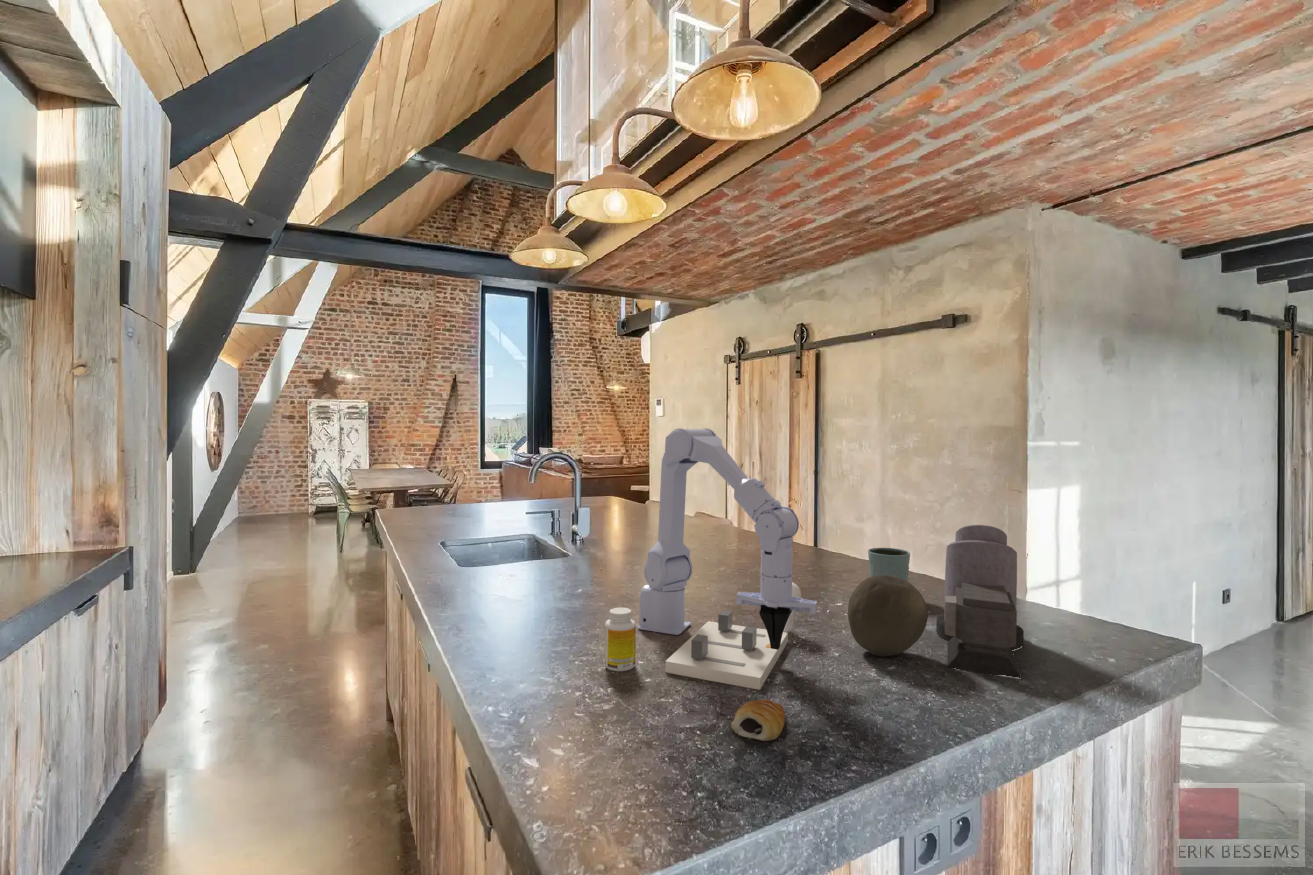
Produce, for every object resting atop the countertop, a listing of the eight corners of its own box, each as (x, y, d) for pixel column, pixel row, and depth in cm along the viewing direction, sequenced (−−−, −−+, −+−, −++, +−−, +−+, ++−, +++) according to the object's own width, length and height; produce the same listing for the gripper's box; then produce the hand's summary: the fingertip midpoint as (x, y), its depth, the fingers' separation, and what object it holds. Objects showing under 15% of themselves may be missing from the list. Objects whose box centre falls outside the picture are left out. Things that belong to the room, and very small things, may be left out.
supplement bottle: (640, 669, 107) (640, 612, 107) (611, 674, 104) (611, 616, 104) (628, 658, 112) (628, 604, 112) (600, 663, 109) (600, 608, 109)
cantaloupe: (889, 673, 106) (890, 589, 106) (831, 647, 118) (833, 572, 118) (942, 660, 112) (943, 581, 112) (882, 636, 125) (883, 565, 125)
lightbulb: (801, 638, 123) (801, 585, 123) (771, 635, 125) (771, 583, 124) (800, 628, 129) (800, 578, 129) (771, 626, 131) (772, 576, 130)
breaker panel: (665, 672, 106) (665, 660, 106) (708, 630, 128) (708, 620, 128) (759, 689, 99) (760, 677, 99) (787, 642, 121) (787, 632, 121)
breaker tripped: (741, 648, 111) (741, 631, 111) (746, 643, 114) (746, 626, 114) (752, 650, 110) (752, 633, 110) (756, 644, 113) (756, 627, 113)
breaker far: (718, 630, 121) (718, 614, 121) (722, 625, 124) (722, 609, 124) (727, 631, 120) (727, 615, 120) (732, 626, 123) (732, 611, 123)
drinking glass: (915, 603, 149) (916, 555, 149) (875, 602, 149) (876, 554, 149) (899, 592, 159) (900, 547, 159) (862, 591, 160) (862, 546, 159)
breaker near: (691, 657, 106) (691, 639, 106) (697, 651, 109) (697, 634, 109) (702, 659, 105) (702, 641, 105) (707, 653, 108) (707, 635, 108)
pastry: (753, 708, 93) (753, 684, 93) (795, 720, 89) (796, 695, 89) (728, 734, 85) (728, 708, 85) (773, 748, 81) (774, 721, 81)
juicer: (936, 619, 137) (938, 513, 136) (1018, 630, 130) (1020, 518, 129) (934, 666, 110) (936, 534, 109) (1036, 683, 103) (1039, 542, 102)
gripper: (732, 574, 109) (731, 648, 109) (813, 583, 103) (812, 661, 103) (742, 566, 115) (741, 636, 115) (819, 574, 110) (818, 647, 110)
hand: (775, 647), depth 110 cm, fingers closed
